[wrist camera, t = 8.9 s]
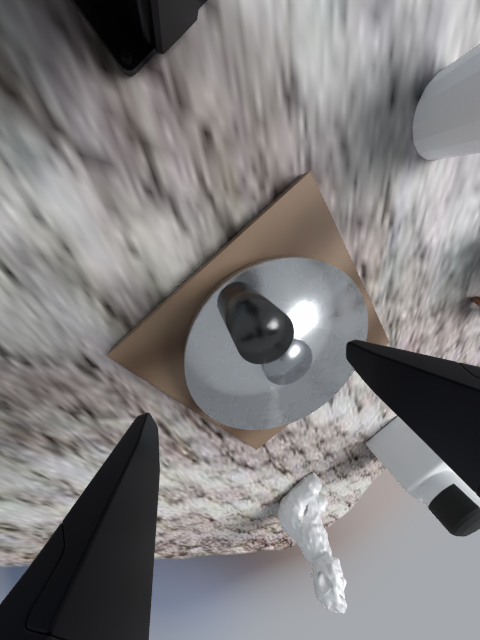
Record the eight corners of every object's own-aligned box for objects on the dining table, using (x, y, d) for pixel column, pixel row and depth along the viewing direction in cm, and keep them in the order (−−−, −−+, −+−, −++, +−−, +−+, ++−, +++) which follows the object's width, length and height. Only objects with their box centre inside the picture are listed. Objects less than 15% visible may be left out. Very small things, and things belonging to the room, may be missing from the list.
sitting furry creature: (323, 494, 38) (380, 600, 27) (281, 518, 37) (322, 636, 26) (314, 469, 33) (378, 582, 23) (266, 495, 32) (308, 625, 22)
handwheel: (256, 440, 24) (283, 513, 18) (136, 352, 16) (110, 431, 10) (376, 347, 23) (448, 391, 17) (310, 205, 15) (402, 191, 9)
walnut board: (111, 348, 17) (107, 356, 16) (301, 174, 16) (310, 170, 14) (253, 440, 26) (256, 449, 25) (380, 337, 25) (389, 342, 24)
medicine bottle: (379, 455, 37) (459, 547, 26) (363, 442, 34) (448, 541, 23) (411, 430, 36) (506, 513, 26) (398, 414, 33) (502, 502, 22)
